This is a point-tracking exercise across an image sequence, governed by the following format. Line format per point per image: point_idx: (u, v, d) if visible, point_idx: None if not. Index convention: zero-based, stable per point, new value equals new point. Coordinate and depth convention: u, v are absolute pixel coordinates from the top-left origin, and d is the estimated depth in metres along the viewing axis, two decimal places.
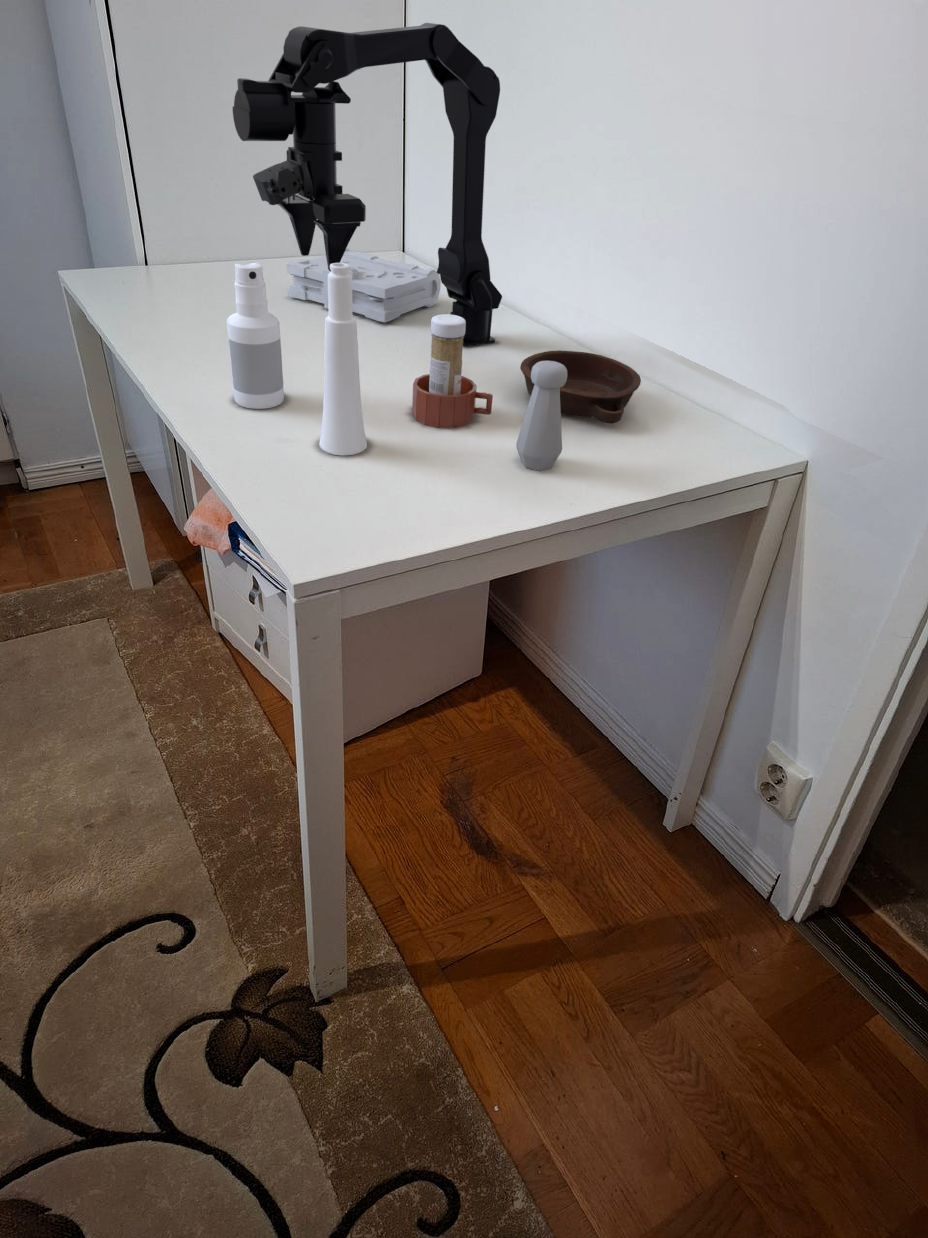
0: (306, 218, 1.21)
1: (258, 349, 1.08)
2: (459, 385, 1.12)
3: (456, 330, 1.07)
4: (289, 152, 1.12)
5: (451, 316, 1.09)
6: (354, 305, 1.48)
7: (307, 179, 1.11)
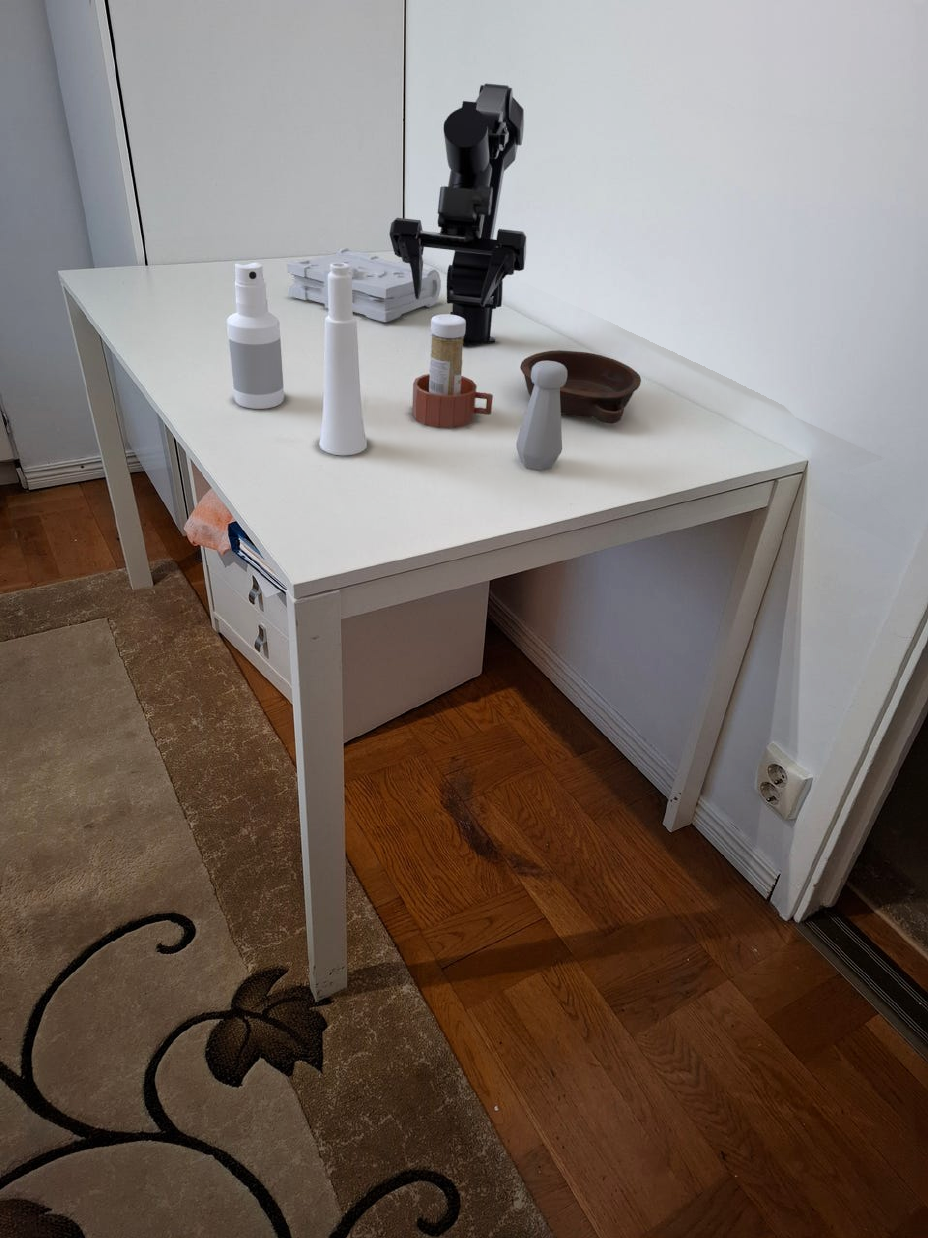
0: (421, 265, 1.15)
1: (258, 349, 1.08)
2: (459, 385, 1.12)
3: (456, 330, 1.07)
4: None
5: (451, 316, 1.09)
6: (355, 305, 1.48)
7: (481, 215, 1.12)
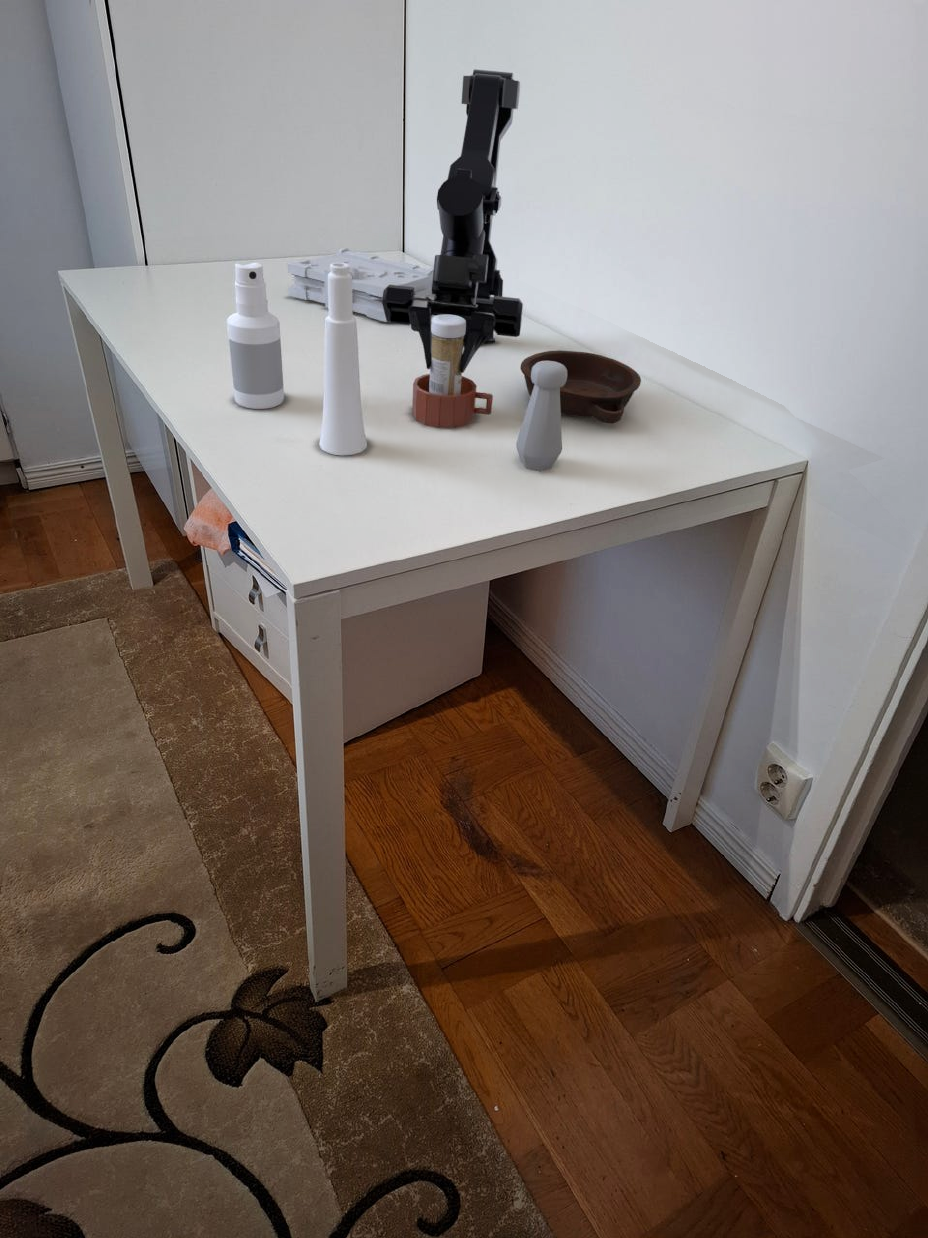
0: (431, 334, 1.12)
1: (258, 349, 1.08)
2: (459, 385, 1.12)
3: (457, 330, 1.07)
4: None
5: (451, 316, 1.09)
6: (356, 305, 1.48)
7: (476, 282, 1.09)
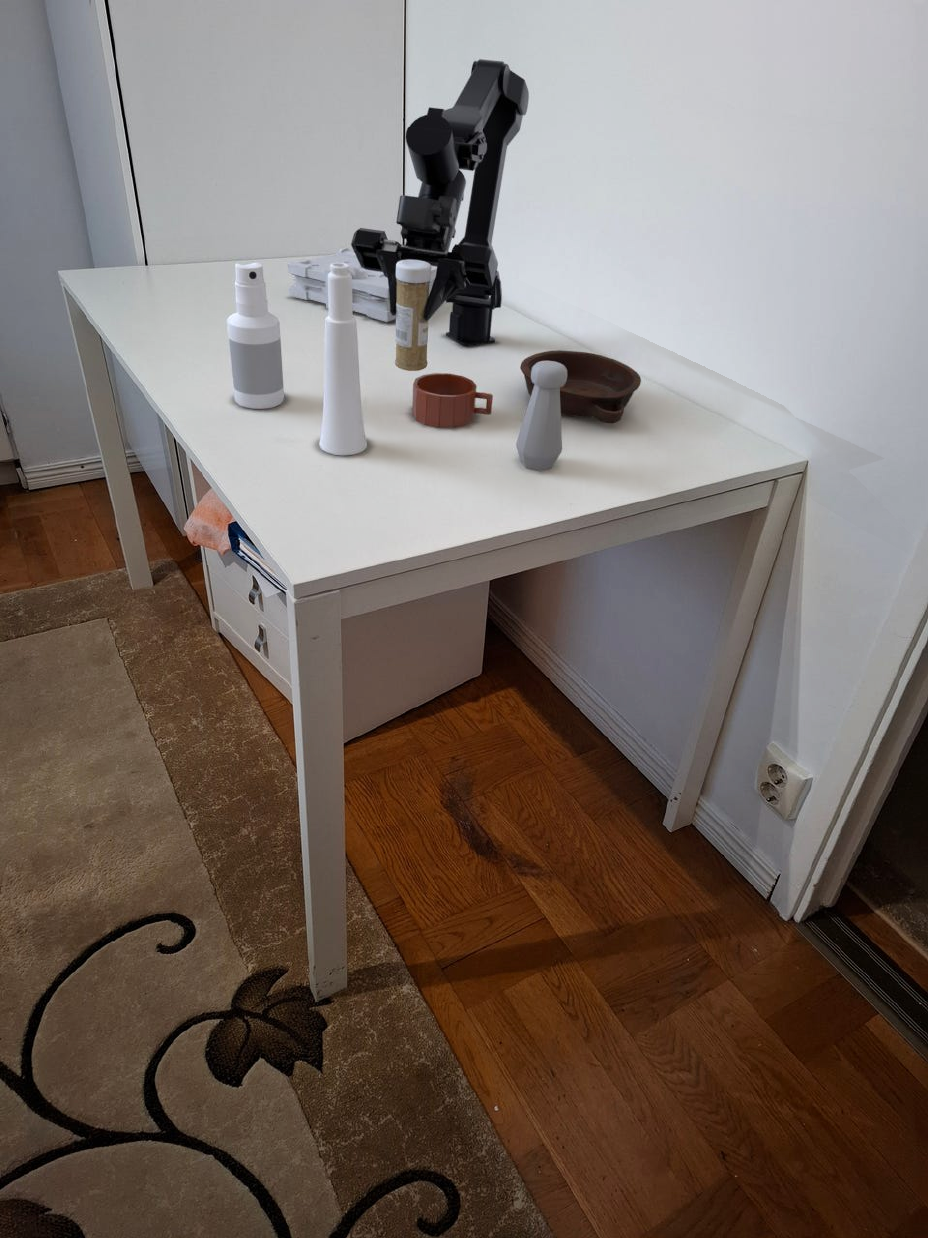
0: None
1: (258, 349, 1.08)
2: (425, 334, 1.09)
3: (419, 274, 1.04)
4: None
5: (418, 261, 1.06)
6: (357, 305, 1.48)
7: (447, 227, 1.06)
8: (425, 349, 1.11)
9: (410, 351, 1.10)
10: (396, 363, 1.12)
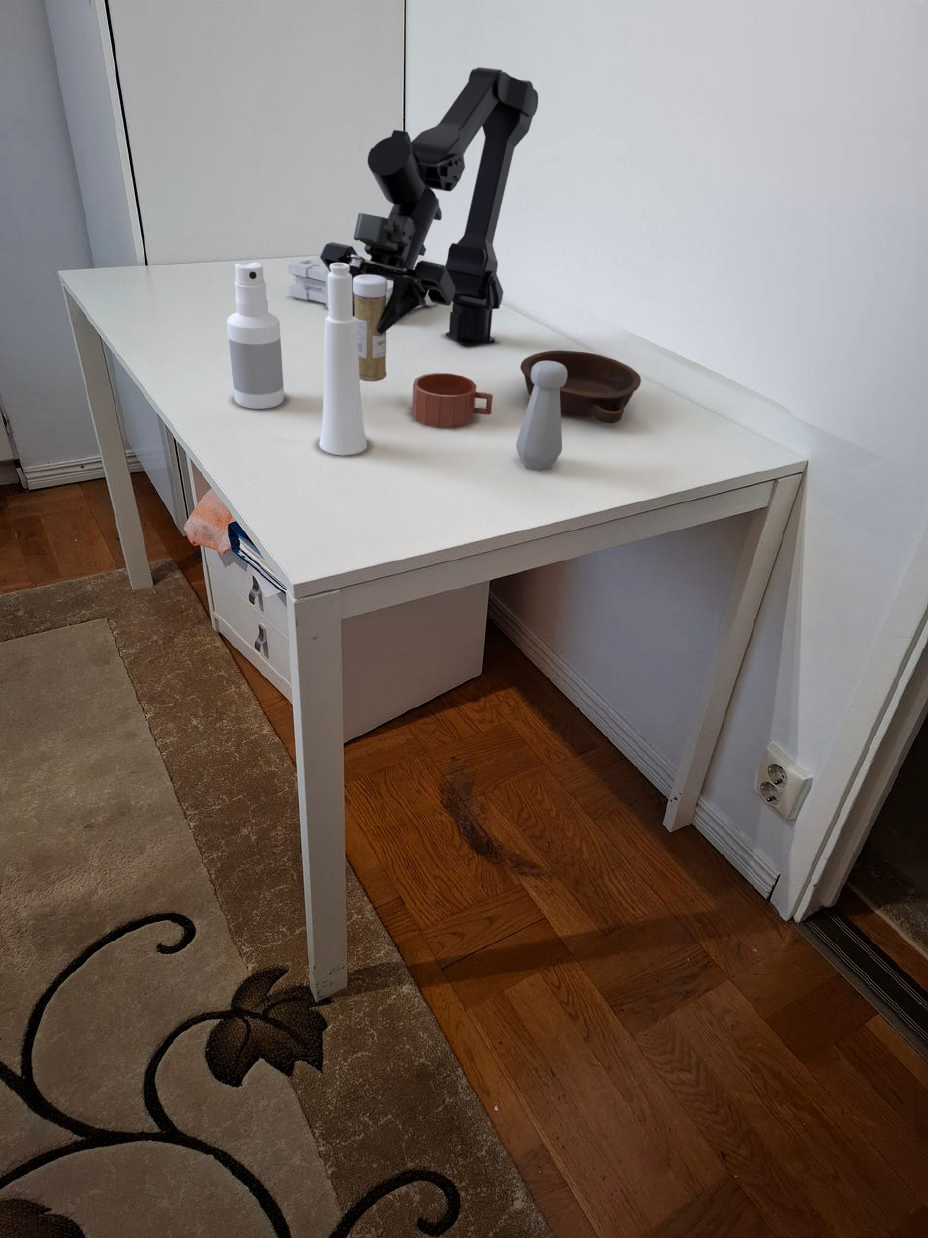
0: None
1: (258, 349, 1.08)
2: (380, 347, 1.13)
3: (371, 289, 1.08)
4: None
5: (375, 276, 1.10)
6: None
7: None
8: (382, 361, 1.14)
9: (366, 362, 1.14)
10: None
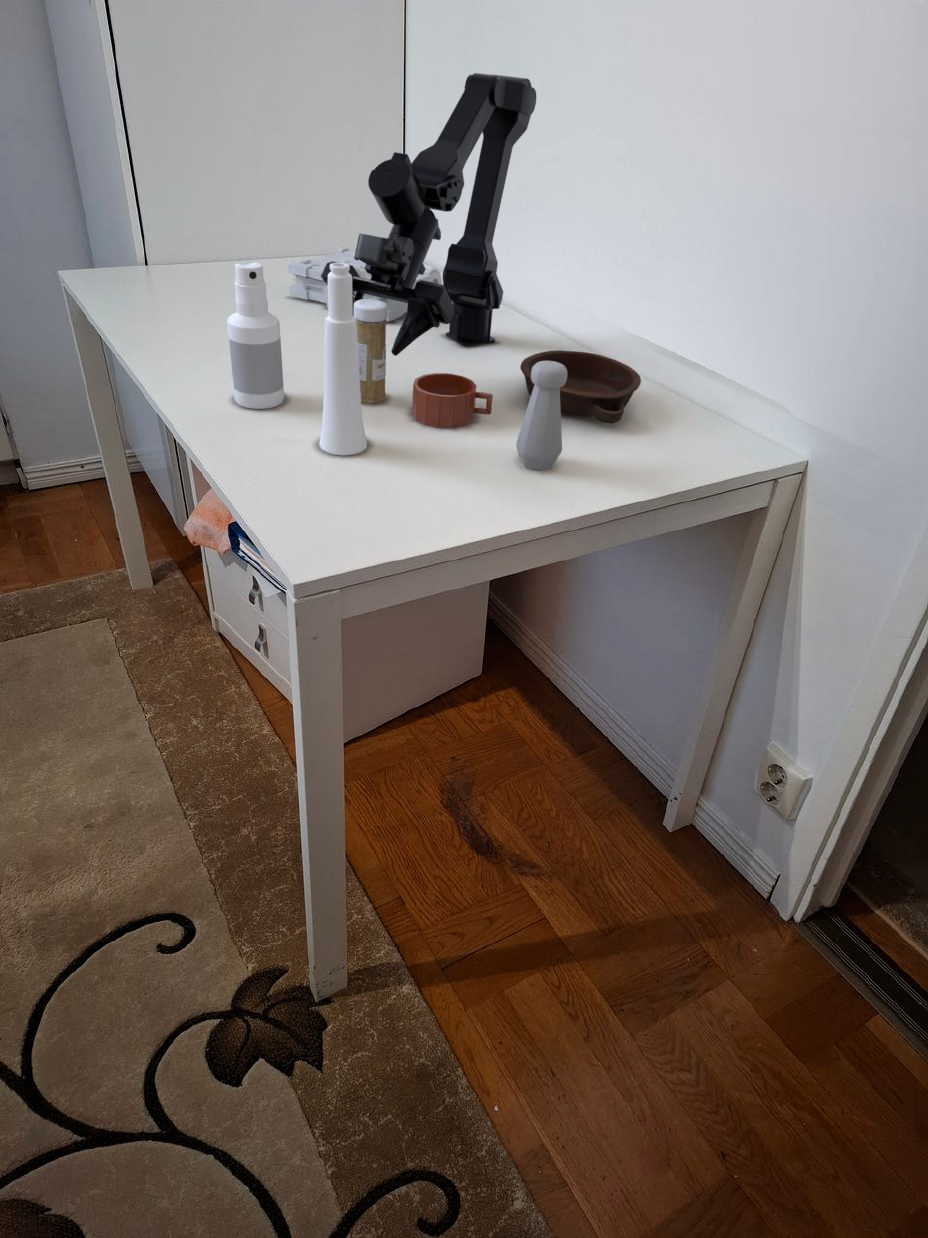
0: None
1: (258, 349, 1.08)
2: (380, 370, 1.15)
3: (372, 314, 1.09)
4: None
5: (376, 301, 1.11)
6: None
7: (407, 265, 1.11)
8: (381, 384, 1.16)
9: (366, 385, 1.15)
10: None
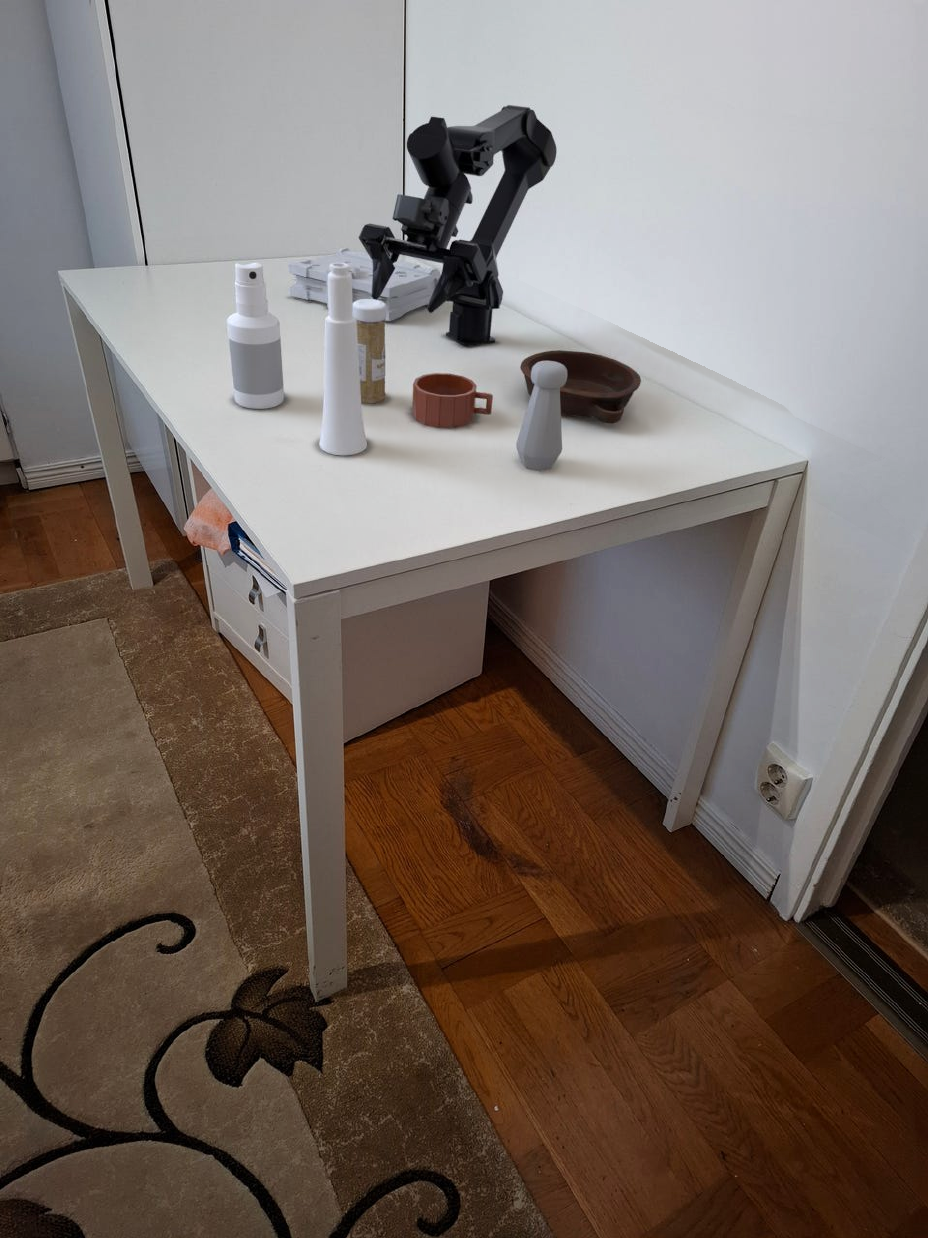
0: (386, 270, 1.21)
1: (258, 349, 1.08)
2: (379, 370, 1.15)
3: (370, 314, 1.09)
4: None
5: (374, 301, 1.11)
6: None
7: (442, 225, 1.16)
8: (381, 383, 1.16)
9: (365, 385, 1.15)
10: None
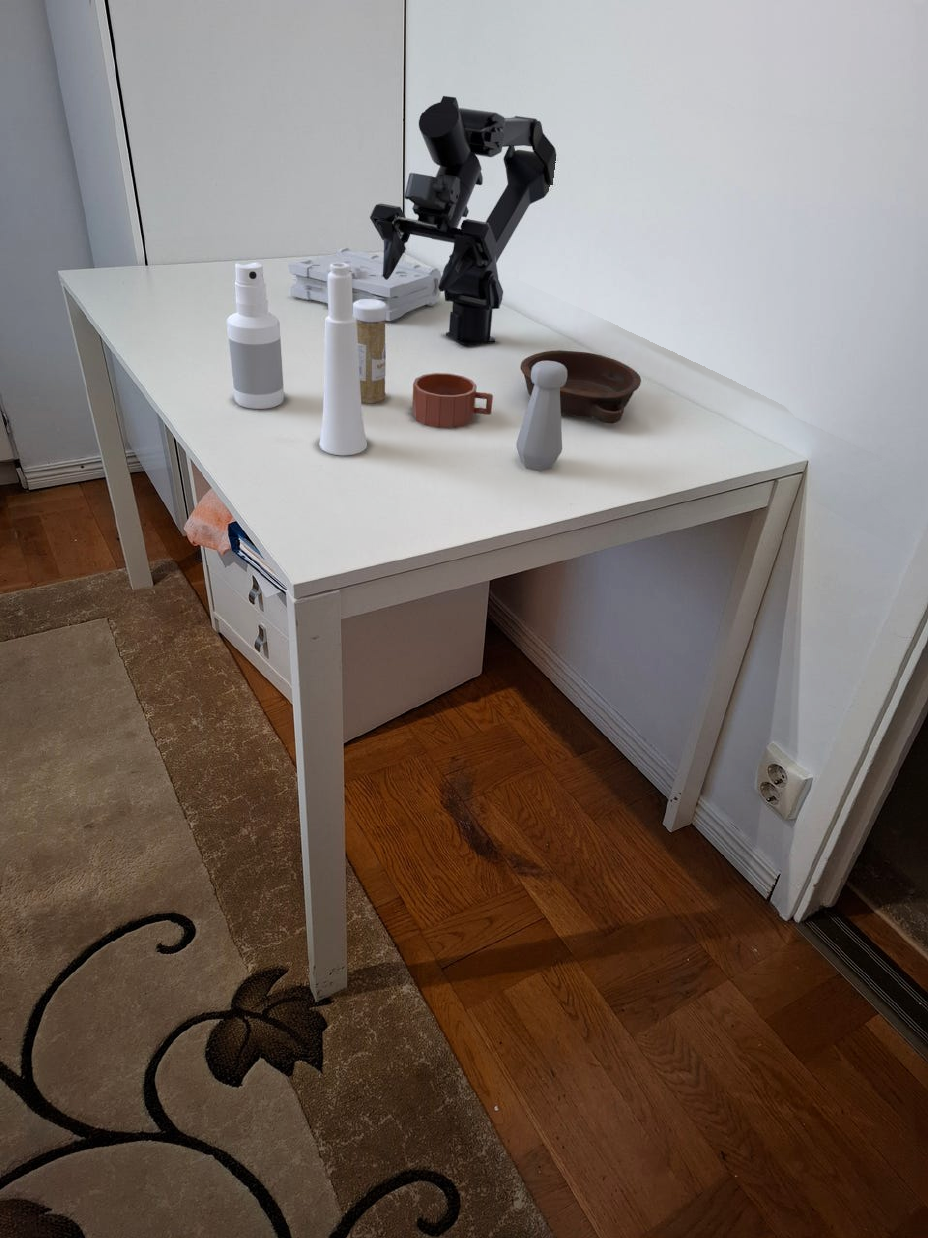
0: (397, 249, 1.22)
1: (258, 349, 1.08)
2: (379, 370, 1.15)
3: (370, 314, 1.09)
4: None
5: (375, 301, 1.11)
6: None
7: (453, 205, 1.17)
8: (381, 384, 1.16)
9: (365, 385, 1.15)
10: None
